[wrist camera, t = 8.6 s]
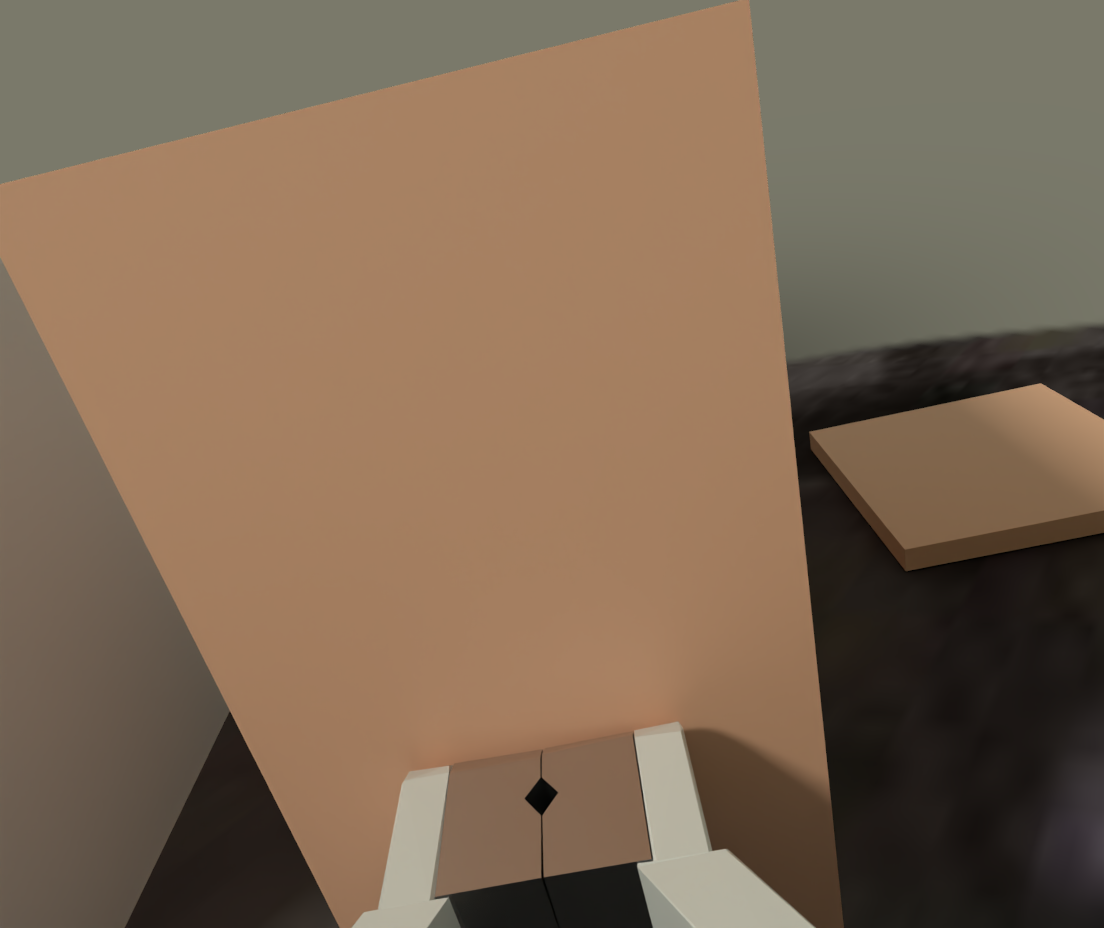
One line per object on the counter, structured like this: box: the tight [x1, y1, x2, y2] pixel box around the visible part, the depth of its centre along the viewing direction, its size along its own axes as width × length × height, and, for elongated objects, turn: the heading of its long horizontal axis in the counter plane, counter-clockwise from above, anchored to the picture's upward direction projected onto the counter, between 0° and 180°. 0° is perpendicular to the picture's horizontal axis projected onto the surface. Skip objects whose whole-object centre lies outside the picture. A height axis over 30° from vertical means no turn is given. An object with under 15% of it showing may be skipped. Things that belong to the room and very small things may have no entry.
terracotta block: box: [0, 0, 844, 928], centre depth 14 cm, size 6×12×12 cm, turn 1°
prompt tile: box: [809, 384, 1104, 571], centre depth 21 cm, size 7×7×1 cm
